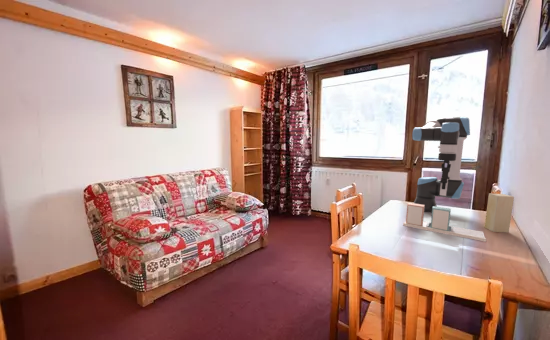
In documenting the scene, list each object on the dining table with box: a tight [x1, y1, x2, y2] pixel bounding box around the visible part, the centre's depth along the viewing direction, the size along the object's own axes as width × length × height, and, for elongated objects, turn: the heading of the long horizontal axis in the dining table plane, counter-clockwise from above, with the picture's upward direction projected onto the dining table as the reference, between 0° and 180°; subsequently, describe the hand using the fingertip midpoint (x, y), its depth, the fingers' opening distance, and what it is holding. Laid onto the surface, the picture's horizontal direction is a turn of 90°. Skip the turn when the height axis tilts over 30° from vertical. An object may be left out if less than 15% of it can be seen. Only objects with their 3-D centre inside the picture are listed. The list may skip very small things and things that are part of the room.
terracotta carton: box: [405, 202, 425, 226], centre depth 140 cm, size 5×8×12 cm, turn 54°
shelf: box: [402, 220, 487, 243], centre depth 136 cm, size 16×36×4 cm, turn 54°
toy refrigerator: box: [484, 193, 515, 233], centre depth 134 cm, size 8×7×21 cm
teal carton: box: [430, 206, 452, 231], centre depth 133 cm, size 5×8×12 cm, turn 54°
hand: (443, 193), depth 131 cm, fingers open, 13 cm apart
